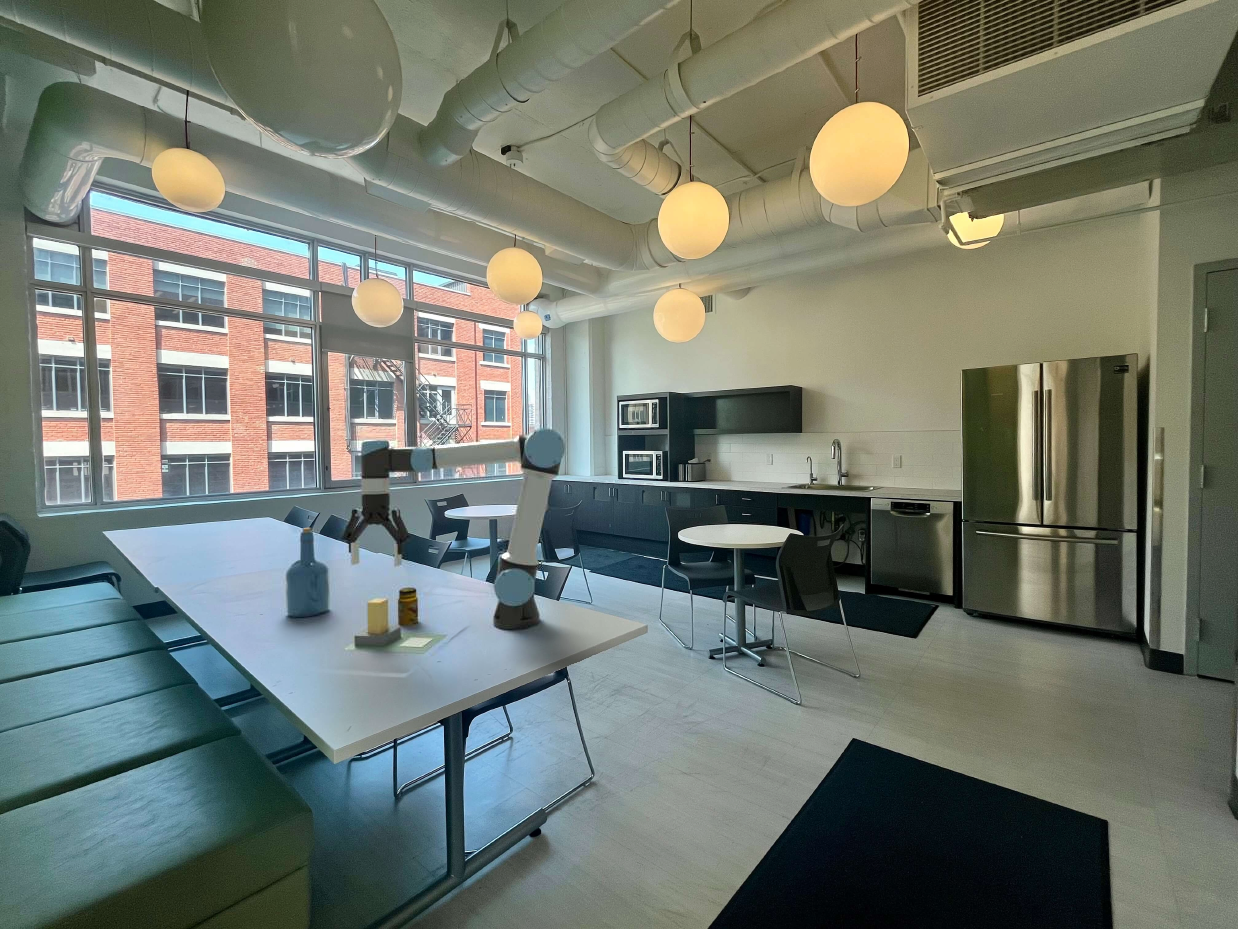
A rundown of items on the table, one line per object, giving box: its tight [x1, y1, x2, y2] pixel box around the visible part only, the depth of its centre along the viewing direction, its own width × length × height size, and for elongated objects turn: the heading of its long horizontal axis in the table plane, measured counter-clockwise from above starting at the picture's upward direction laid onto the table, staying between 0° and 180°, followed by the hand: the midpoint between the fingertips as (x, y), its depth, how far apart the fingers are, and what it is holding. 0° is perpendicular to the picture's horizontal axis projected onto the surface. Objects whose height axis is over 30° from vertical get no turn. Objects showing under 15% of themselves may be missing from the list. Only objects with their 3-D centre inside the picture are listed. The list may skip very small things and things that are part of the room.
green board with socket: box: [343, 625, 448, 655], centre depth 156 cm, size 24×15×4 cm, turn 82°
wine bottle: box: [285, 527, 331, 618], centre depth 187 cm, size 14×13×30 cm
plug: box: [366, 597, 389, 634], centre depth 156 cm, size 4×4×12 cm
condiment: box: [397, 587, 419, 626], centre depth 173 cm, size 7×8×12 cm
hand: (376, 564), depth 156 cm, fingers open, 13 cm apart
